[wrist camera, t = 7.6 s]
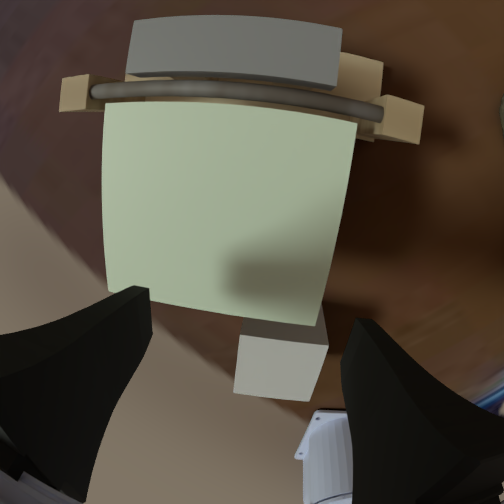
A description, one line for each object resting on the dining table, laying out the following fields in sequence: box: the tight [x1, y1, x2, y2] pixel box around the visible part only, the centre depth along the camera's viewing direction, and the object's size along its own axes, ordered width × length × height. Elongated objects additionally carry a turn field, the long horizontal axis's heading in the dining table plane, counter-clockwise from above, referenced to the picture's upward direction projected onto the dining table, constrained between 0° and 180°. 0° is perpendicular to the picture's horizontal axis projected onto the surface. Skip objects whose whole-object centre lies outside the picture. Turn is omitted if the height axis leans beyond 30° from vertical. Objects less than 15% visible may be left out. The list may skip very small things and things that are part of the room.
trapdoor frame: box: [59, 52, 424, 144], centre depth 13 cm, size 5×15×7 cm, turn 83°
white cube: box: [233, 304, 329, 401], centre depth 20 cm, size 5×5×5 cm
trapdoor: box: [102, 15, 357, 326], centre depth 12 cm, size 12×10×1 cm
